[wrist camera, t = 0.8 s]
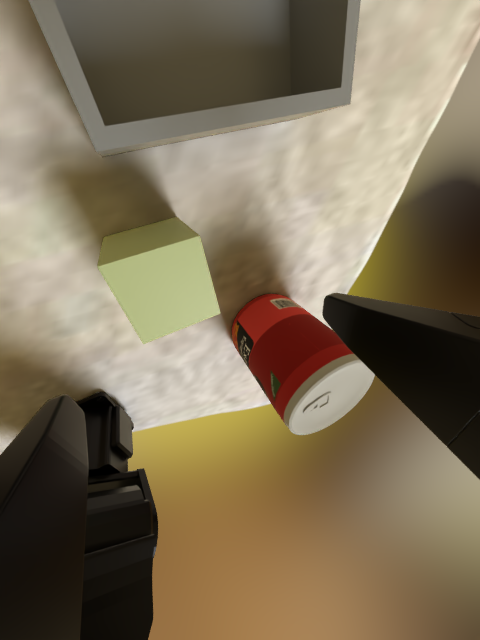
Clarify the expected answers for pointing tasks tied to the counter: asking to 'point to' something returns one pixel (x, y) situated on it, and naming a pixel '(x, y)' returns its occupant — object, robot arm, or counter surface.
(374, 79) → the counter surface
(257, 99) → the grey bin
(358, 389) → the canned food
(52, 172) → the counter surface
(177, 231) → the green block
